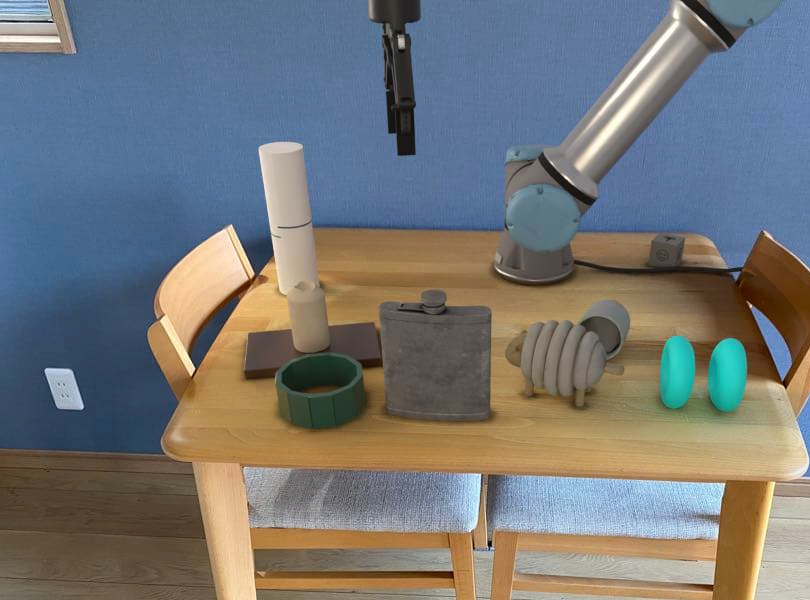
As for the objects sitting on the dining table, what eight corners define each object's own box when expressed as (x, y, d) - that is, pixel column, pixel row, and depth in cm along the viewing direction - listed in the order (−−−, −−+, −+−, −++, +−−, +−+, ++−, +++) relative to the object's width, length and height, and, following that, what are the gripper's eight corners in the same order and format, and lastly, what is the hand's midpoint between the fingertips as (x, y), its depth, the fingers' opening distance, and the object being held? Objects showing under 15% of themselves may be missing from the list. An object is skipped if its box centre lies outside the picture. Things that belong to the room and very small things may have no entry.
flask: (488, 424, 101) (490, 302, 91) (383, 417, 102) (373, 296, 92) (490, 409, 104) (492, 289, 94) (388, 403, 105) (380, 284, 96)
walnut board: (374, 329, 124) (374, 321, 123) (381, 366, 114) (381, 357, 113) (249, 340, 120) (247, 332, 120) (245, 379, 111) (243, 370, 110)
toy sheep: (513, 366, 114) (516, 299, 108) (625, 385, 110) (635, 316, 103) (493, 403, 105) (494, 332, 99) (614, 424, 101) (623, 352, 95)
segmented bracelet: (362, 378, 111) (359, 349, 108) (368, 423, 101) (365, 391, 99) (281, 386, 109) (276, 356, 106) (280, 432, 99) (274, 400, 97)
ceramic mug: (629, 341, 121) (634, 297, 117) (620, 365, 114) (625, 319, 110) (565, 331, 124) (567, 288, 120) (552, 354, 117) (554, 309, 113)
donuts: (655, 383, 110) (665, 322, 105) (726, 387, 109) (739, 325, 104) (663, 422, 102) (673, 357, 96) (739, 426, 101) (754, 361, 95)
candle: (300, 356, 113) (291, 295, 108) (289, 340, 117) (280, 281, 112) (335, 348, 115) (328, 288, 110) (324, 333, 119) (316, 274, 114)
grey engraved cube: (681, 261, 148) (685, 237, 145) (673, 270, 145) (677, 245, 142) (657, 256, 150) (660, 232, 148) (648, 265, 147) (651, 240, 144)
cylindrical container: (310, 297, 134) (292, 154, 120) (273, 294, 135) (250, 151, 121) (325, 281, 140) (309, 143, 126) (289, 278, 141) (269, 140, 127)
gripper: (360, -17, 117) (370, 125, 129) (374, -1, 97) (385, 166, 108) (408, -17, 118) (414, 123, 130) (432, -2, 98) (437, 164, 110)
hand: (401, 143), depth 119 cm, fingers open, 13 cm apart
